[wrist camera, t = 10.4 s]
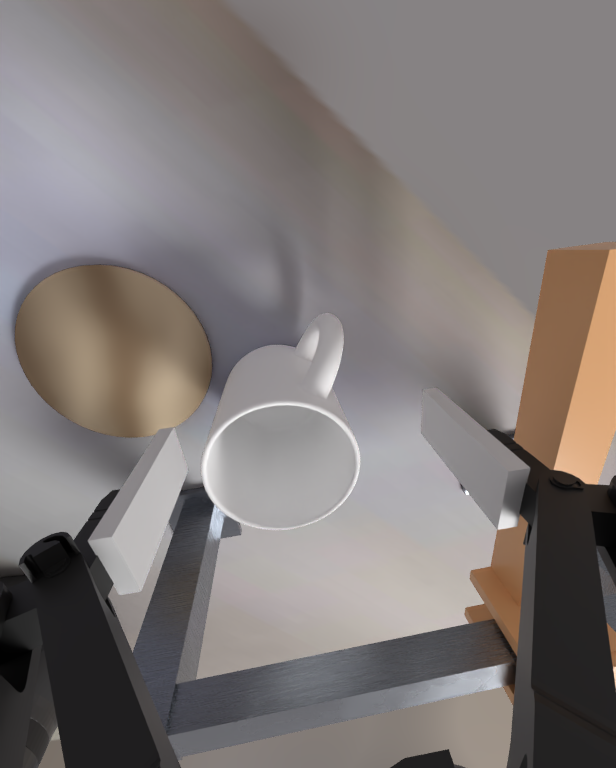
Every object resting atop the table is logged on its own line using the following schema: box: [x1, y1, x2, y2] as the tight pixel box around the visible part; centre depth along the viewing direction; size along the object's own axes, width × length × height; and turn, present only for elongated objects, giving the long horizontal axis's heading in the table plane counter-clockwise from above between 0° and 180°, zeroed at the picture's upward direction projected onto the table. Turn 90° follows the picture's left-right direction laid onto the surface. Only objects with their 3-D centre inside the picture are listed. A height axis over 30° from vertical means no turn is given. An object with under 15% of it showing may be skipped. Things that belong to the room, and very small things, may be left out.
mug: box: [201, 313, 360, 530], centre depth 20 cm, size 12×8×10 cm
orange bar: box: [465, 242, 616, 705], centre depth 14 cm, size 5×23×6 cm, turn 6°
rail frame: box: [133, 434, 616, 760], centre depth 23 cm, size 35×6×16 cm, turn 97°
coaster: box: [15, 265, 212, 437], centre depth 23 cm, size 13×13×1 cm
